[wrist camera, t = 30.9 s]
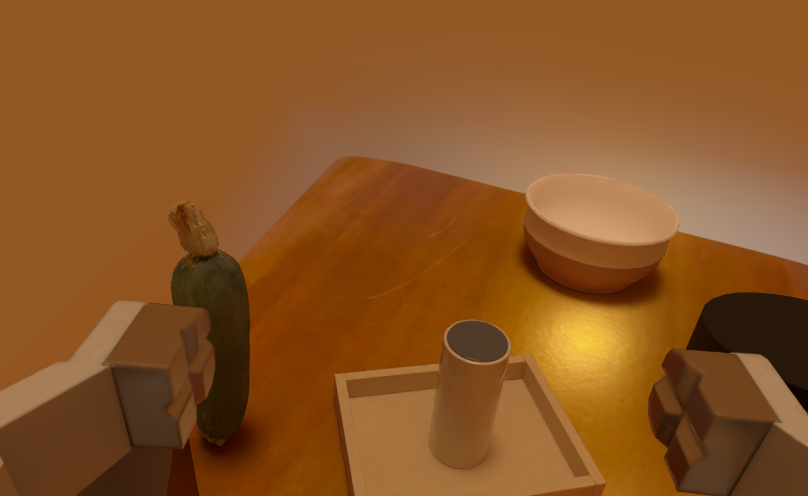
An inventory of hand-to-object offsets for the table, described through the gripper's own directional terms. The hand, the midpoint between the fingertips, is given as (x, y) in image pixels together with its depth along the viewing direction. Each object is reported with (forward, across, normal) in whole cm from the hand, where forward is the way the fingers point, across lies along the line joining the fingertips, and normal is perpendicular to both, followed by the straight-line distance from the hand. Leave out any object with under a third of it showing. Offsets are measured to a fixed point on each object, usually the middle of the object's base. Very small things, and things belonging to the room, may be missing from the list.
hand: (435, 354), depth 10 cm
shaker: (+21, -5, +27) cm, 35 cm away
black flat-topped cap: (+29, -33, +28) cm, 52 cm away
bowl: (+48, -20, +28) cm, 59 cm away
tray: (+21, -4, +28) cm, 35 cm away
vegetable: (+20, +12, +28) cm, 37 cm away
